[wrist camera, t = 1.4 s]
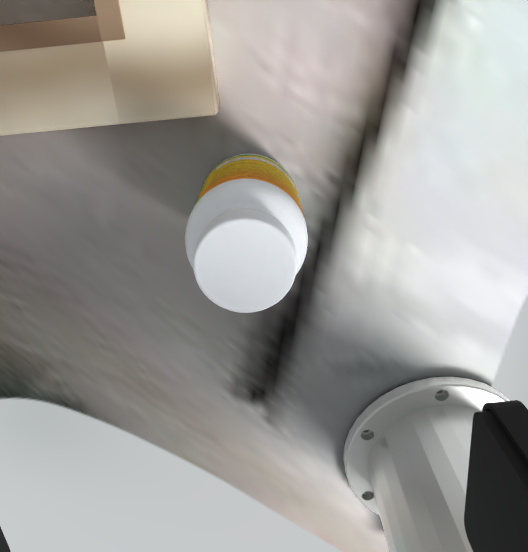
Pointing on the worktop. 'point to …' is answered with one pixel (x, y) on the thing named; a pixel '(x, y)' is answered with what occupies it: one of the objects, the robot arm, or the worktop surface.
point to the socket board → (108, 67)
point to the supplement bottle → (246, 234)
